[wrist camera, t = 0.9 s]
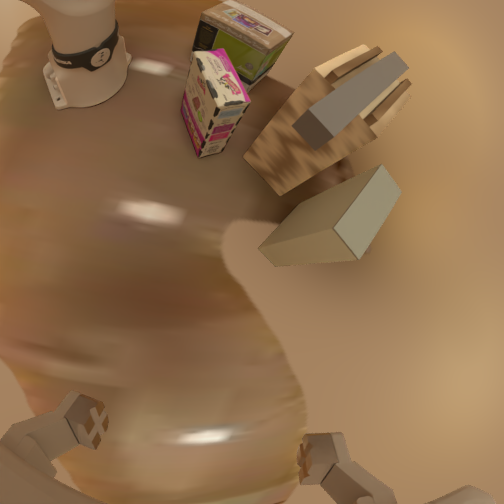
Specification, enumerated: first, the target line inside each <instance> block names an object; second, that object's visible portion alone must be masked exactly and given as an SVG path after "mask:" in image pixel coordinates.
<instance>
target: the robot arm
mask: <svg viewBox="0 0 504 504" xmlns="http://www.w3.org/2000/svg"><path fill="white" fill-rule="evenodd" d="M20 1H23V2H25V3H27V4H28V5H30V6H31V7H33V8H34V9H35V10H36V11H37V12H38V13H39V14H40V15H41V16H42V18H43V19H44V21H45V24H46V26H47V29H48V31H49V34H50V37H51V40H52V49H51V50H50V52H49V53H48V59H49V62H48V63H47V64H46V66H45V67H44V69H43V74H44V77H45V80H46V83H47V86H48V89H49V92H50V95H51V97H52V100H53V103H54V106H55V108H56V109H57V110H61V109H65V108H68V107H89V106H93V105H97V104H99V103H101V102H103V101H105V100H107V99H109V98H110V97H112V96H113V95H114V94H115V93H116V92H117V91H118V90H119V89H120V88H121V87H122V86H123V84H124V82H125V80H126V77H127V67H128V65H129V64H130V62H131V60H132V57H131V54H129V53H127V52H126V48H125V42H124V37H123V36H120V35H119V27H118V23H117V21H116V19H115V0H20ZM58 100H59V101H58ZM104 408H105V406H104V403H103V402H102V401H99V400H96V399H94V398H91V397H89V396H86V395H84V394H81V393H79V392H76V391H74V390H72V391H70V392H69V393H68V394H67V396H66V397H65V398H64V399H63V401H62V402H61V403H60V405H59V406H58V407H57V409H56V410H55V411H54V412H52V411H50V412H48V413H45V414H42V415H39V416H36V417H33V418H31V419H28V420H25V421H22V422H19V423H16V424H13V425H12V426H11V427H10V428H9V430H8V431H7V432H6V433H5V435H4V436H3V437H2V438H1V440H0V504H107V503H104V502H102V501H99V500H97V499H95V498H92V497H90V496H88V495H86V494H83V493H81V492H79V491H77V490H75V489H73V488H71V487H69V486H67V485H65V484H63V483H61V482H60V481H58V480H56V479H54V476H55V475H56V473H57V470H56V468H55V467H54V466H53V464H52V463H51V462H50V461H52V460H54V459H55V458H57V457H59V456H61V455H63V454H64V453H66V452H68V451H70V450H71V449H73V448H75V447H76V446H78V445H79V444H81V445H83V446H86V447H88V448H91V449H93V450H96V449H97V447H98V445H99V443H100V442H101V437H100V435H102V434H104V433H105V432H106V430H107V428H108V423H109V419H108V415H107V413H106V412H105V411H104ZM302 441H303V443H302V444H300V445H299V447H298V451H297V464H298V465H299V466H300V467H301V469H300V471H299V472H298V473H299V481H300V485H313V484H314V485H315V484H320V485H321V487H322V488H323V489H324V490H325V491H326V492H327V493H328V494H329V495H330V496H331V497H332V498H333V500H334V501H335V502H336V503H337V504H397V501H396V499H395V496H394V493H393V490H392V489H391V488H390V487H388V486H387V485H385V484H384V483H383V482H381V481H380V480H378V479H377V478H376V477H374V476H373V475H372V474H370V473H369V472H368V471H367V470H365V469H364V468H363V467H361V466H360V465H359V464H358V463H356V462H355V461H353V462H351V458H350V455H349V452H348V448H347V445H346V442H345V438H344V435H343V433H342V432H336V433H311V434H305V435H304V436H303V438H302ZM426 504H496V502H495V500H494V498H493V497H492V496H491V495H490V494H489V493H487V492H485V491H483V490H481V489H478V488H476V487H473V486H470V485H467V486H463V487H461V488H459V489H457V490H455V491H453V492H451V493H449V494H446V495H444V496H442V497H440V498H438V499H435V500H433V501H430V502H428V503H426Z"/></svg>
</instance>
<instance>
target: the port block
mask: <svg viewBox="0 0 504 504" xmlns="http://www.w3.org/2000/svg"><path fill="white" fill-rule="evenodd" d="M400 194H401V190H400V189H399V187H398V186H397V184H396V183H395V182H394V180H393V179H392V177H391V176H390V174H389V173H388V172H387V171H386V169H385V168H384V166H383V165H382V164H381V165H378V166H376V167H374V168H372V169H370V170H368V171H366V172H364V173H361V174H359V175H357V176H355V177H353V178H351V179H349V180H347V181H345V182H343V183H341V184H338V185H336V186H334V187H332V188H330V189H328V190H326V191H324V192H322V193H320V194H318V195H316V196H314V197H312V198H310V199H308V200H306V201H304V202H302V203H300V204H298V205H297V207H296V208H295V209H294V210H293V211H292V212H291V213H290V214H289V215H288V216H287V217H286V218H285V219H284V221H283V222H282V223H281V224H280V225H279V226H278V227H277V228H276V229H275V230H274V231H273V232H272V233H271V235H270V236H269V237H268V238H267V239H266V240H265V241H264V242H263V243H262V244H261V245H260V246H259V247H258V249H259V250H260V251H261V252H262V253H263V254H264V255H265V256H266V257H267V259H269V261H270V262H271V263H272V264H273V265H274V266H290V265H303V264H315V263H328V262H340V261H351V260H359V259H360V258H361V256H362V255H363V253H364V252H365V250H366V249H367V247H368V246H369V244H370V243H371V241H372V240H373V238H374V237H375V235H376V233H377V232H378V230H379V229H380V227H381V226H382V224H383V222H384V221H385V219H386V218H387V216H388V214H389V213H390V211H391V209H392V208H393V206H394V204H395V203H396V201H397V199H398V198H399V196H400Z"/></svg>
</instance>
